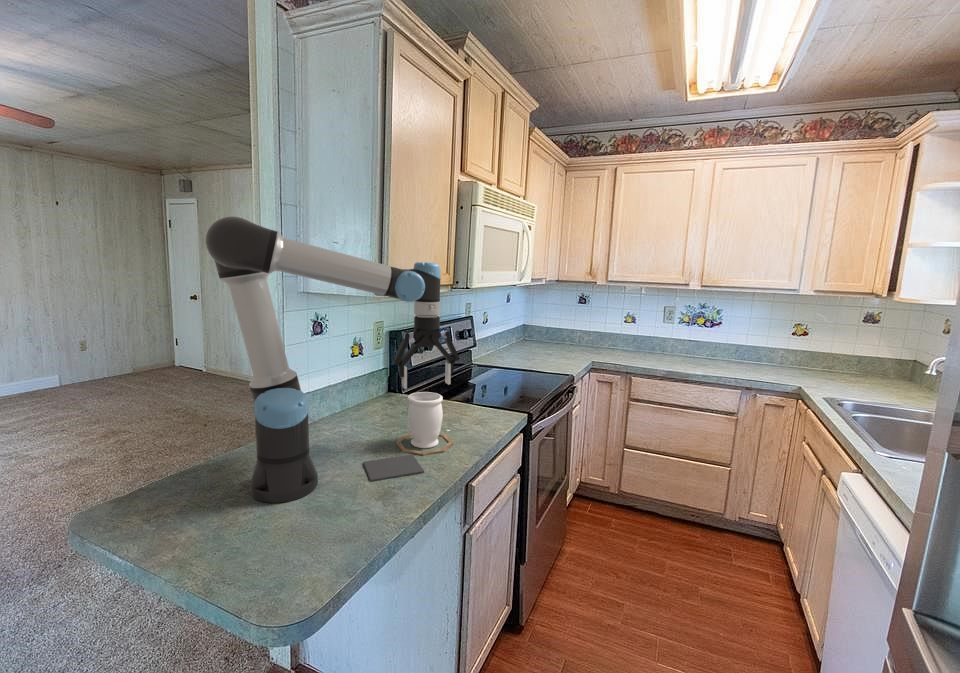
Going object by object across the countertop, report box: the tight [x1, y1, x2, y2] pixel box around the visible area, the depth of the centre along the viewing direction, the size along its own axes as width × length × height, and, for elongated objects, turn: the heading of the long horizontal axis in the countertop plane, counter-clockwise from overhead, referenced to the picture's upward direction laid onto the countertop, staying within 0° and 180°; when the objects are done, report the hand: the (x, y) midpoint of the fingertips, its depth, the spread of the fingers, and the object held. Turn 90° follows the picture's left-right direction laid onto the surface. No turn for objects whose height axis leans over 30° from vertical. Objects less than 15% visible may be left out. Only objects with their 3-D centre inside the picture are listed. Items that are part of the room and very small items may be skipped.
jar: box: [407, 391, 444, 449], centre depth 139 cm, size 11×10×15 cm
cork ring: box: [395, 432, 454, 456], centre depth 140 cm, size 16×16×1 cm
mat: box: [362, 453, 425, 482], centre depth 123 cm, size 14×11×1 cm
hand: (426, 385), depth 137 cm, fingers open, 13 cm apart
